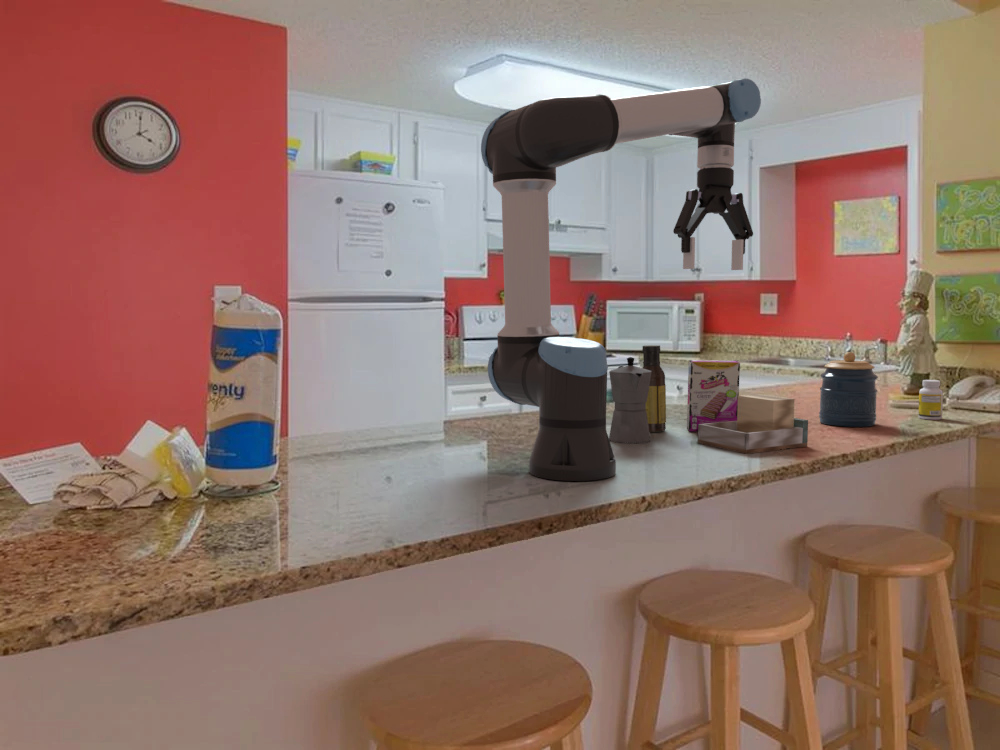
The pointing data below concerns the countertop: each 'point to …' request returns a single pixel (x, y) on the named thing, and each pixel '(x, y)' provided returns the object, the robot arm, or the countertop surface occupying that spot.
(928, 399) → the supplement bottle
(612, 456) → the robot arm
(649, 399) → the sauce bottle
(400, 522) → the countertop surface
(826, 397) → the canister
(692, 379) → the candy bar box
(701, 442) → the grey open tray
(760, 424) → the tan rectangular block
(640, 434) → the coffeepot
